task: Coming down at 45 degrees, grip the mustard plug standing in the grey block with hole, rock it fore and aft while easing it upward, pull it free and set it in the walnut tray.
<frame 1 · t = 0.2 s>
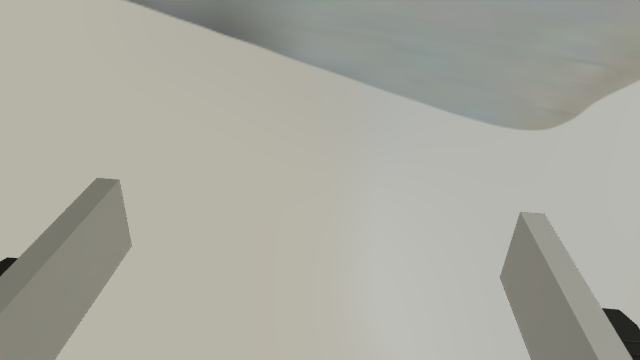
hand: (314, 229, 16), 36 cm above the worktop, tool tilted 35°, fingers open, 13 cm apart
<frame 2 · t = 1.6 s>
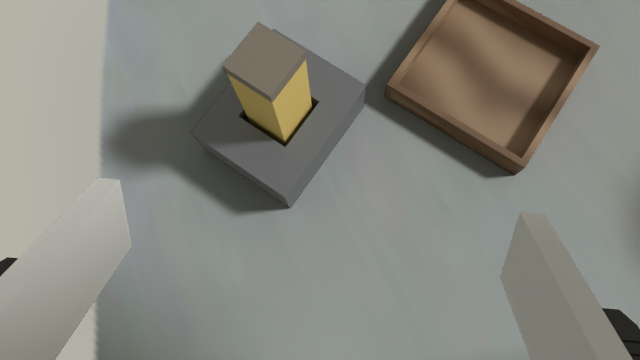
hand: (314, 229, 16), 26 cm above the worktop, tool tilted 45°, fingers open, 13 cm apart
grey block with hole: (284, 127, 45), on the worktop
plug: (283, 123, 44), point 1 cm above the worktop, touching grey block with hole
tray: (485, 77, 46), on the worktop
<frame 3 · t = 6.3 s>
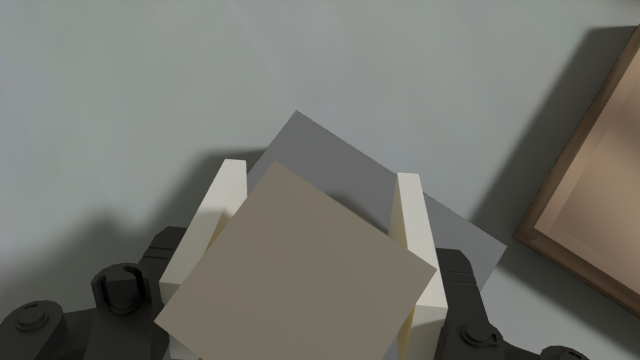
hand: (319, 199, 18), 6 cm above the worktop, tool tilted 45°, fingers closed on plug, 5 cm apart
grey block with hole: (314, 303, 22), on the worktop
plug: (314, 303, 21), point 1 cm above the worktop, touching gripper, grey block with hole
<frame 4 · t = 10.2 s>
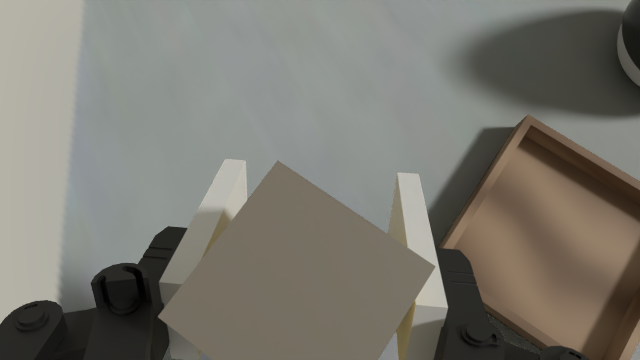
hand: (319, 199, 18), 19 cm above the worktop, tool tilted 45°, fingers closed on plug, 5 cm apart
plug: (310, 311, 21), point 14 cm above the worktop, touching gripper
tray: (551, 246, 36), on the worktop
when the fingers open (7 cm above the worktop, at t = 13.9 s): plug drops 1 cm, resting on tray.
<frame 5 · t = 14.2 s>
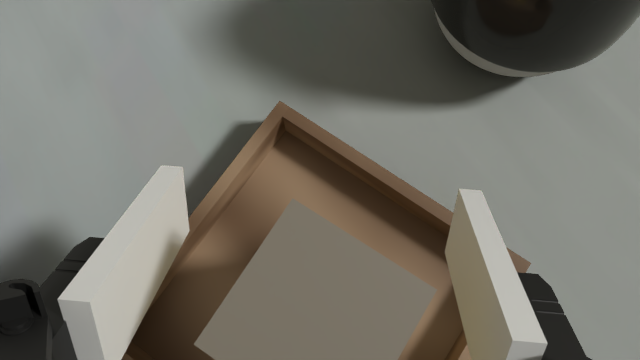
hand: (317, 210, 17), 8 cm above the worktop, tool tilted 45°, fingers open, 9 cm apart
black egg shaped container: (503, 26, 28), on the worktop
plug: (320, 312, 23), point 1 cm above the worktop, touching tray
tray: (315, 303, 23), on the worktop
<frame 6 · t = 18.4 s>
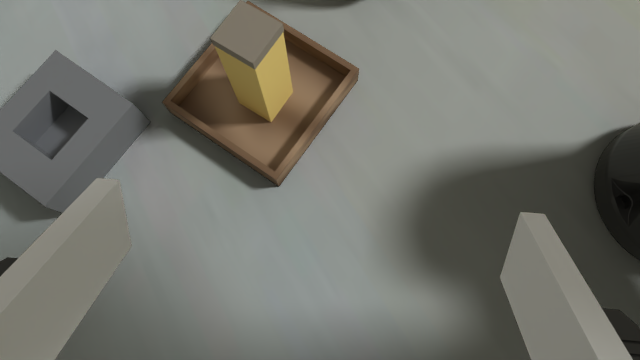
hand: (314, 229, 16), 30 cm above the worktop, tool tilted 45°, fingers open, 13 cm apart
grey block with hole: (75, 141, 49), on the worktop
plug: (266, 97, 49), point 1 cm above the worktop, touching tray
tray: (264, 96, 50), on the worktop
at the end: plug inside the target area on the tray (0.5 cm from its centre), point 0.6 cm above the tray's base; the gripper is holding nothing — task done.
